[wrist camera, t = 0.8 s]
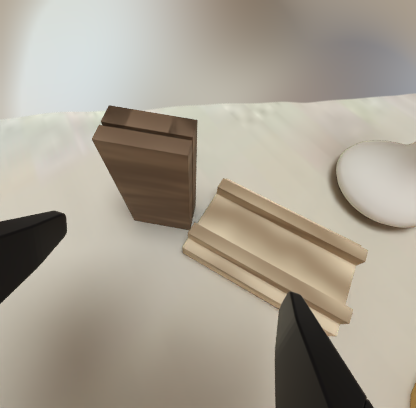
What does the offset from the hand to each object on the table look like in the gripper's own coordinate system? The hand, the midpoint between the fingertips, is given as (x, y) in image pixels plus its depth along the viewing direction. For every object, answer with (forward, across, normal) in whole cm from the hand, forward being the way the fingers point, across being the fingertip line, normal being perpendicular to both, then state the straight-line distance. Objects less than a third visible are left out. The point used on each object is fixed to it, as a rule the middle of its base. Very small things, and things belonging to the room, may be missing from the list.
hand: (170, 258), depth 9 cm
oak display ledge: (+14, -7, +8) cm, 18 cm away
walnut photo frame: (+15, +5, +8) cm, 18 cm away
